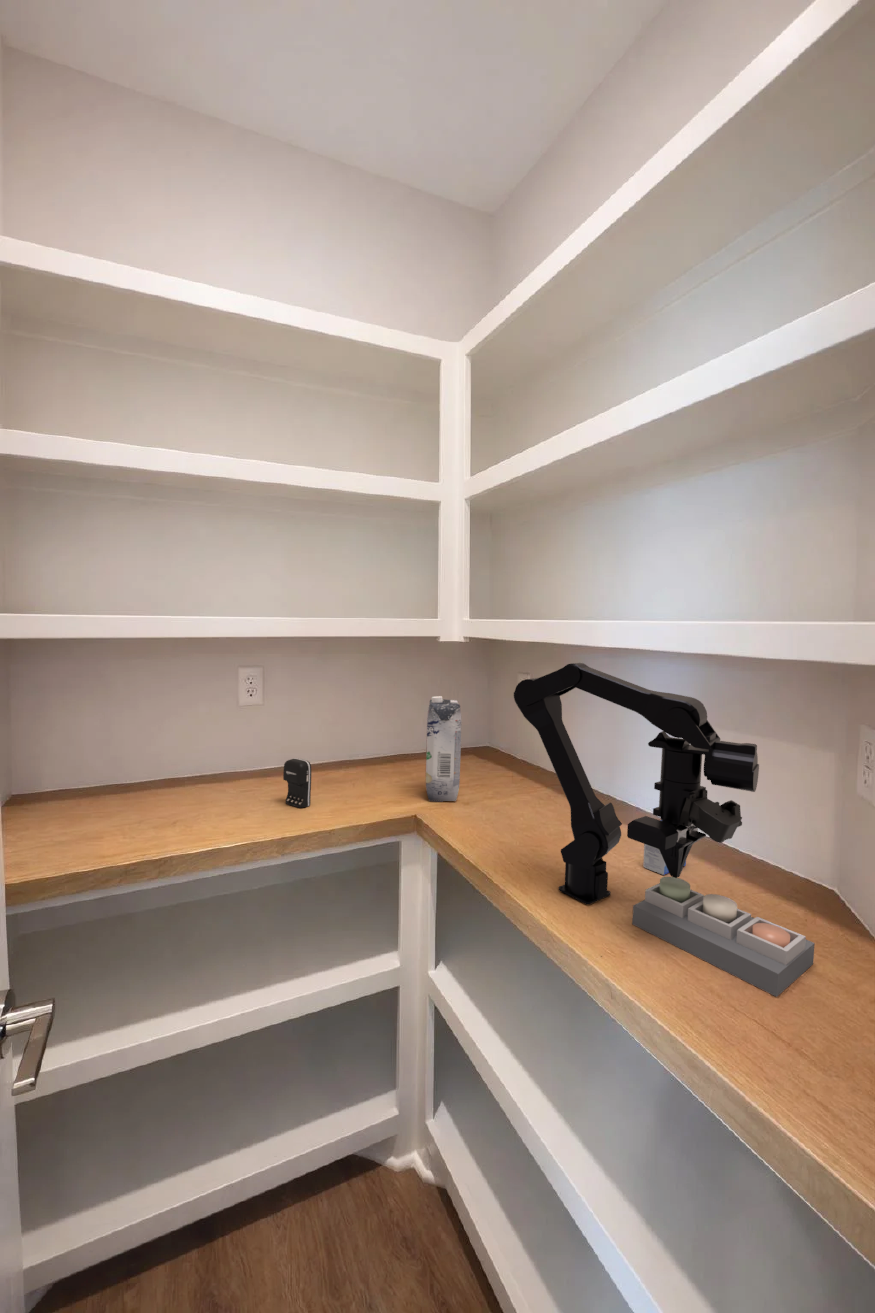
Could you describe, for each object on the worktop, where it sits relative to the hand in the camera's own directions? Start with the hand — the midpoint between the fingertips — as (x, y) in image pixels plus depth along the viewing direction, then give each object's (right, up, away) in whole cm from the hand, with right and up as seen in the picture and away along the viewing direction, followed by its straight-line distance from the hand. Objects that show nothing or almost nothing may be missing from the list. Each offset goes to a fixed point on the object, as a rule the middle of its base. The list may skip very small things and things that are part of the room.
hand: (674, 876), depth 87 cm
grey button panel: (+4, -8, -5) cm, 10 cm away
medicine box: (+7, -7, +21) cm, 23 cm away
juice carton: (-36, -3, +61) cm, 71 cm away
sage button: (0, -3, 0) cm, 3 cm away
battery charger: (-72, -3, +51) cm, 88 cm away
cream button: (+4, -3, -5) cm, 8 cm away
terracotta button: (+8, -5, -11) cm, 15 cm away
